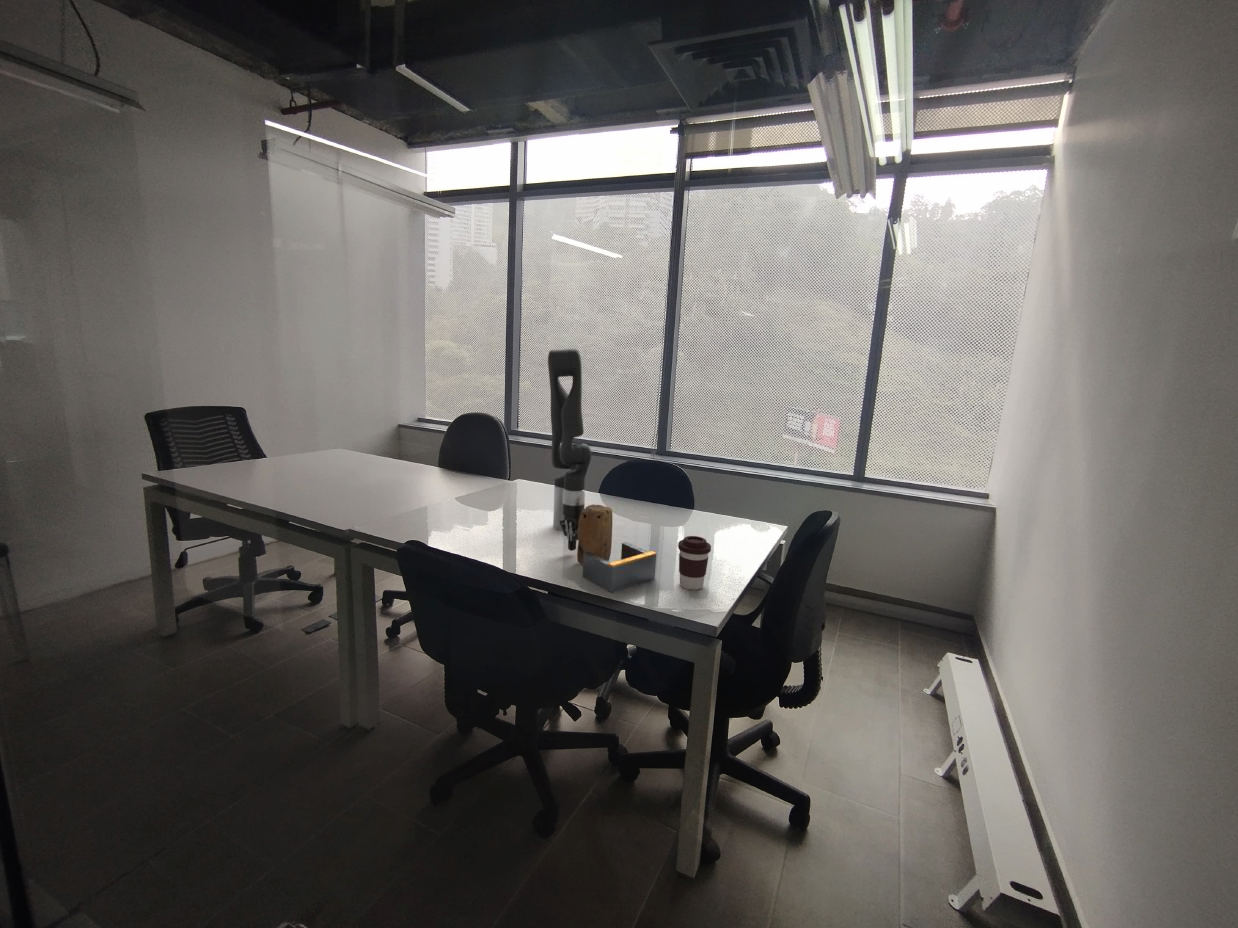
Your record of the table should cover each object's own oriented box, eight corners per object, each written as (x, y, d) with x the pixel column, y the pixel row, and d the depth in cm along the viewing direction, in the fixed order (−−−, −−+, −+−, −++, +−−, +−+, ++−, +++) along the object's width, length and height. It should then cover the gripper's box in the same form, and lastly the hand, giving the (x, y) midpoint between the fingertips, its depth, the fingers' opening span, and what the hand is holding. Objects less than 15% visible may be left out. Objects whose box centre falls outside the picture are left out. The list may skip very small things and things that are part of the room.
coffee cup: (689, 576, 171) (692, 531, 168) (713, 586, 164) (718, 540, 161) (668, 583, 164) (672, 537, 161) (693, 595, 157) (697, 547, 154)
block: (612, 564, 177) (615, 506, 174) (603, 571, 171) (606, 512, 167) (583, 558, 181) (585, 501, 178) (573, 565, 175) (575, 506, 171)
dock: (625, 564, 178) (626, 540, 176) (654, 578, 167) (656, 553, 166) (582, 576, 166) (583, 550, 164) (611, 592, 156) (613, 565, 154)
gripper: (594, 504, 178) (592, 553, 182) (571, 495, 188) (569, 542, 191) (576, 507, 173) (574, 557, 177) (553, 498, 183) (552, 546, 187)
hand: (571, 549), depth 184 cm, fingers closed
